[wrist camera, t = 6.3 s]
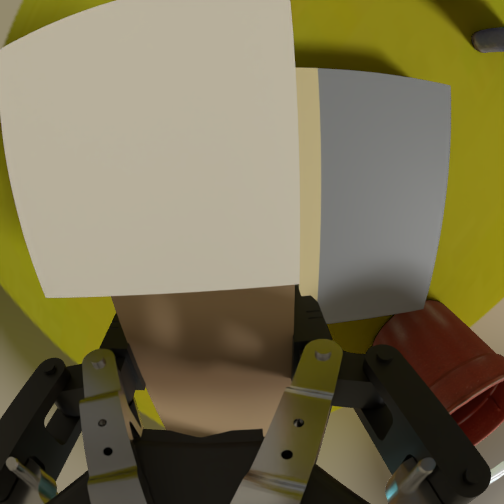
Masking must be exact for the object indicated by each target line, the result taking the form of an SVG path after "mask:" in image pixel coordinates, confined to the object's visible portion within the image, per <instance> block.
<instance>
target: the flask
mask: <svg viewBox="0 0 504 504" xmlns="http://www.w3.org/2000/svg"><path fill="white" fill-rule="evenodd" d="M471 37H472V43H473V40H474V43H473V45H474V47H475V49H476V50H478V51H479V52H482V53H487V52H497V51H500V52H501V51H504V27H499V28H491V29H485V30H480V31H477V32H475V33H474V34H473V36H471Z"/></svg>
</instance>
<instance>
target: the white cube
mask: <svg viewBox="0 0 504 504" xmlns="http://www.w3.org/2000/svg"><path fill="white" fill-rule="evenodd" d="M0 117H1V127H2V135H3V143H4V150H5V156H6V162H7V168H8V173H9V178H10V183H11V188H12V192H13V196H14V201H15V205H16V209H17V213H18V217H19V220H20V224H21V227H22V231H23V234H24V238H25V241H26V244H27V247H28V250H29V253H30V256H31V259H32V262H33V265H34V268H35V271H36V274H37V276H38V279H39V282H40V284H41V287H42V289H43V292H44V294H45V297H46V298H62V297H99V296H126V295H149V294H168V293H186V292H203V291H218V290H232V289H246V288H259V287H271V286H283V285H295V284H299V279H300V171H299V134H298V108H297V87H296V70H295V54H294V40H293V27H292V15H291V4H290V0H117V1H113V2H110V3H106V4H103V5H100V6H97V7H94V8H91V9H88V10H85V11H82V12H79V13H77V14H74V15H71V16H69V17H66V18H64V19H61V20H59V21H56V22H54V23H51V24H49V25H47V26H45V27H42V28H40V29H38V30H36V31H34V32H32V33H30V34H28V35H26V36H24V37H22V38H20V39H18V40H16V41H14V42H12V43H10V44H8V45H6V46H5V47H3V48H1V49H0Z"/></svg>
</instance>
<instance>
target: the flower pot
mask: <svg viewBox="0 0 504 504" xmlns="http://www.w3.org/2000/svg"><path fill="white" fill-rule="evenodd" d="M379 344H385V345H390V346H392V347H394V348H396V349H397V350H398V351H399V352H400V353H401V354H402V355H403V356H404V358H405V359H406V360H407V361H408V362H409V364H410V365H411V366H412V367H413V369H414V370H415V371H416V372H417V373H418V375H419V376H420V377H421V378H422V380H423V381H424V382H425V383H426V384H427V386H428V387H429V388H430V389H431V391H432V392H433V393H434V394H435V396H436V397H437V398H438V400H439V401H440V402H441V403H442V405H443V406H444V407H445V408H446V410H447V411H448V412H449V414H450V415H451V416H452V417H453V419H454V420H455V421H456V423H457V424H458V425H459V427H460V428H461V429H462V430H463V432H464V433H465V434H466V436H467V437H468V438H469V440H470V441H471V442H472V444H473V445H474V446H475V445H477V444H478V443H479V442H481V441H482V440H483V439H485V438H486V437H487V436H488V435H490V434H491V433H492V432H493V431H494V430H495V429H496V428H497V427H498V426H499V425H501V423H502V422H503V421H504V357H503V356H501V355H499V354H496V353H495V352H494V351H493V350H492V349H491V348H490V347H489V346H488V345H487V344H486V343H485V342H483V341H482V340H481V339H480V338H479V337H478V336H477V335H476V334H475V333H474V332H473V331H472V330H471V329H470V328H469V327H468V326H467V325H466V324H465V323H463V322H462V321H461V320H460V319H459V318H458V317H457V316H456V315H455V314H454V313H453V312H452V311H450V310H449V309H448V308H447V307H446V306H445V305H444V304H442V303H440V302H438V301H433V300H427V301H425V305H424V309H422V310H416V311H410V312H405V313H399V314H395V315H394V316H393V317H392V318H391V319H390V320H389V321H388V322H387V323H386V324H385V325H384V326H383V327H382V329H381V330H380V332H379V333H378V335H377V336H376V338H375V341H374V343H373V346H375V345H379Z"/></svg>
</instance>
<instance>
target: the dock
mask: <svg viewBox="0 0 504 504" xmlns="http://www.w3.org/2000/svg"><path fill="white" fill-rule="evenodd" d="M295 70H296V87H297V108H298V134H299V171H300V279H299V284H295V285H298V288H299V291H300V294H301V296H309V295H311V296H312V297H313V298H314V299H315V300H316V301H318V303H319V306H320V308H321V311H322V314H323V317H324V319H325V321H326V324H331V323H339V322H346V321H353V320H361V319H367V318H374V317H381V316H387V315H393V314H399V313H405V312H410V311H416V310H422V309H424V305H425V301H426V298H427V294H428V290H429V286H430V282H431V277H432V273H433V268H434V264H435V259H436V254H437V249H438V244H439V238H440V232H441V226H442V220H443V213H444V206H445V198H446V190H447V180H448V169H449V156H450V135H451V88H450V86H449V85H445V84H441V83H436V82H431V81H426V80H421V79H415V78H409V77H403V76H396V75H389V74H382V73H374V72H364V71H354V70H341V69H323V68H295Z"/></svg>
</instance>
